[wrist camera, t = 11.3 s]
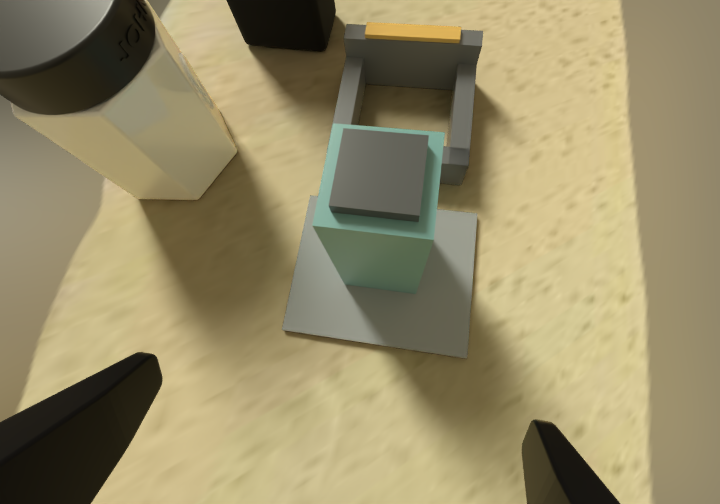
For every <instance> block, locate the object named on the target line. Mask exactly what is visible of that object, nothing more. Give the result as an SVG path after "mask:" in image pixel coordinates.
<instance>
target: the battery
mask: <svg viewBox="0 0 720 504" xmlns="http://www.w3.org/2000/svg"><path fill="white" fill-rule="evenodd" d="M227 2H228V5H229V7H230V9H231V11H232V14H233V16H234V18H235V20H236V23H237V25H238V27H239V29H240V32H241V34H242V36H243V38H244V40H245V42H246V43H247V44H249V45H255V46H267V47H278V48H289V49H301V50H312V51H324V50H325V49H326V47H327V44H328V40H329V36H330V32H331V29H332V25H333V21H334V17H335V13H336V9H335V2H334V0H227Z"/></svg>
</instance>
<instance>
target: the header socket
mask: <svg viewBox="0 0 720 504" xmlns="http://www.w3.org/2000/svg"><path fill="white" fill-rule="evenodd" d="M482 38H483V31H474V30H461V27H452V26H432V25H412V24H392V23H372V22H367V25H355V24H347V25H346V29H345V34H344V45H345V52H346V60H345V65H344V70H343V75H342V80H341V85H340V90H339V94H338V99H337V104H336V109H335V114H334V119H333V123H336V124H348V125H358V124H359V118H360V113H361V107H362V102H363V96H364V91H365V85H366V84H372V85H386V86H401V87H415V88H429V89H444V90H452V98H451V108H450V118H449V128H448V138H447V146H443V155H442V164H441V174H440V183H445V184H455V185H461V184H462V182H463V179H464V176H465V174H466V171H467V169H468V166H469V154H470V141H471V129H472V116H473V104H474V91H475V79H476V66H477V61H478V58H479V54H480V51H481V47H482ZM332 125H333V124H332ZM331 130H332V129H331ZM330 135H331V134H330ZM329 140H330V139H329ZM328 145H329V143H328ZM327 150H328V148H327Z"/></svg>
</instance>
